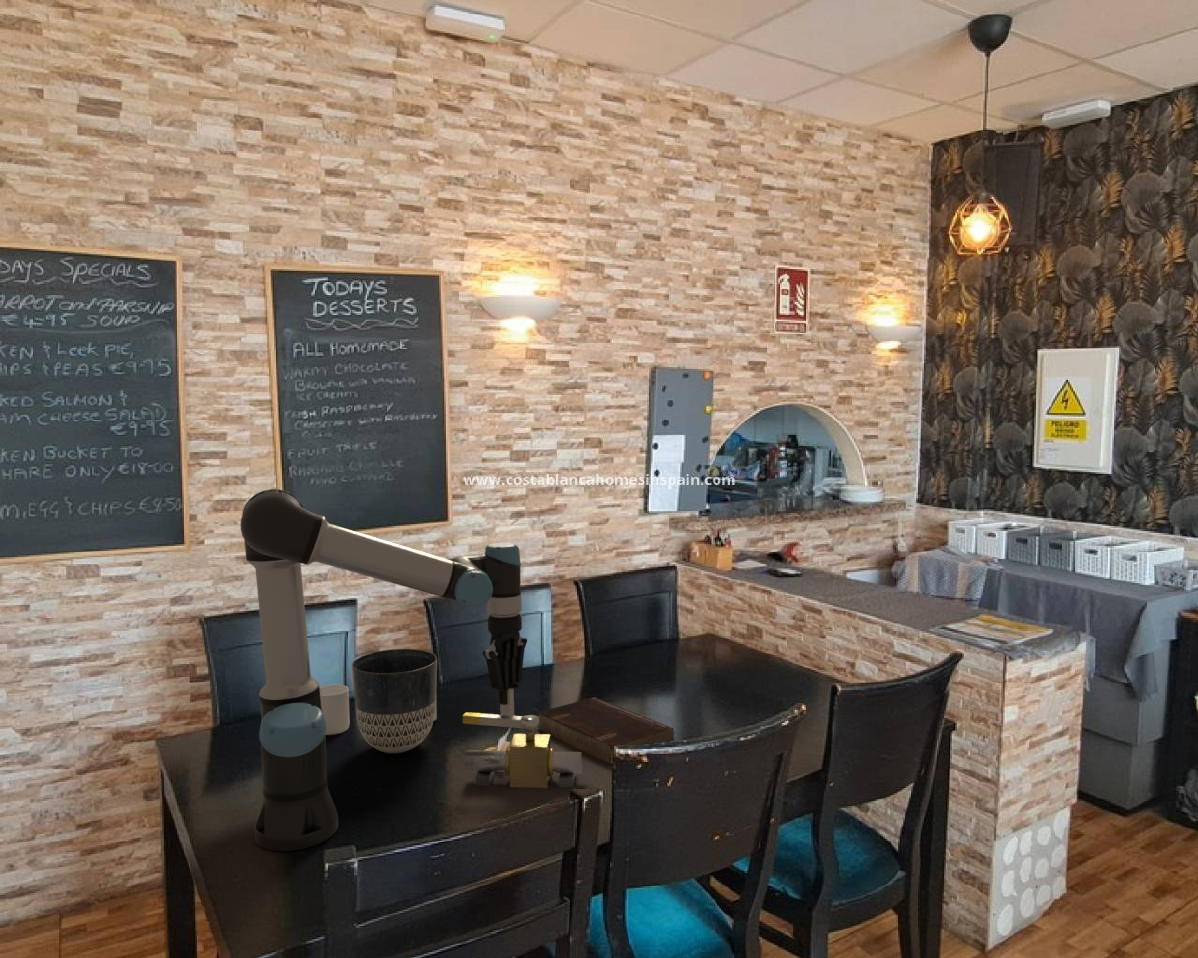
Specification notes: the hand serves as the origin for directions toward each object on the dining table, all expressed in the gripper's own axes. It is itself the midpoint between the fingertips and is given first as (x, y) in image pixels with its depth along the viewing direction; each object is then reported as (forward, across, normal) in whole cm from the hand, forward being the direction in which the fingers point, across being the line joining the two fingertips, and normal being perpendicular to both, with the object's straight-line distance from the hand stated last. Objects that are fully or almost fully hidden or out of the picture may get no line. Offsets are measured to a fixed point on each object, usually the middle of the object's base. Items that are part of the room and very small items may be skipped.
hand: (507, 716), depth 192 cm
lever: (0, +4, +2) cm, 5 cm away
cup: (+12, +5, -54) cm, 56 cm away
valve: (+12, +3, +7) cm, 14 cm away
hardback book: (+13, -27, +8) cm, 31 cm away
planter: (+12, +6, -29) cm, 32 cm away
